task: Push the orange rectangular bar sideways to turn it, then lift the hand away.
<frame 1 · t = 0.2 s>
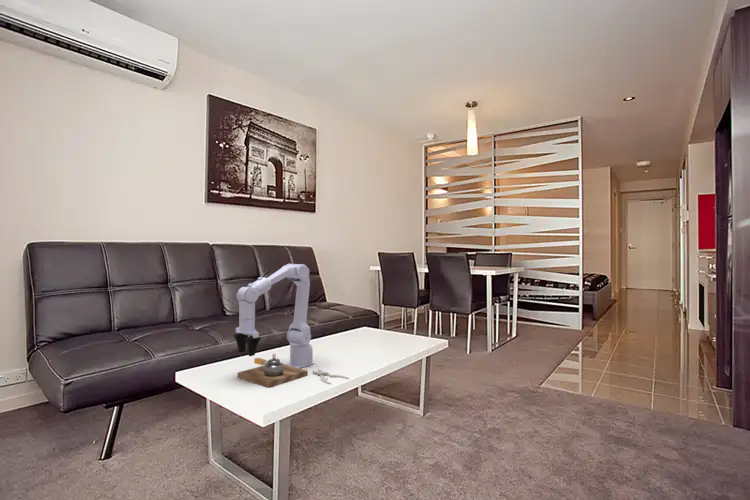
hand: (246, 353, 155), 10 cm above the table, tool pointing down, fingers open, 7 cm apart
orange rectangular bar: (267, 362, 158), point 6 cm above the table, hinge at 0.0°
pliers: (327, 378, 160), on the table
bench block: (272, 376, 160), on the table
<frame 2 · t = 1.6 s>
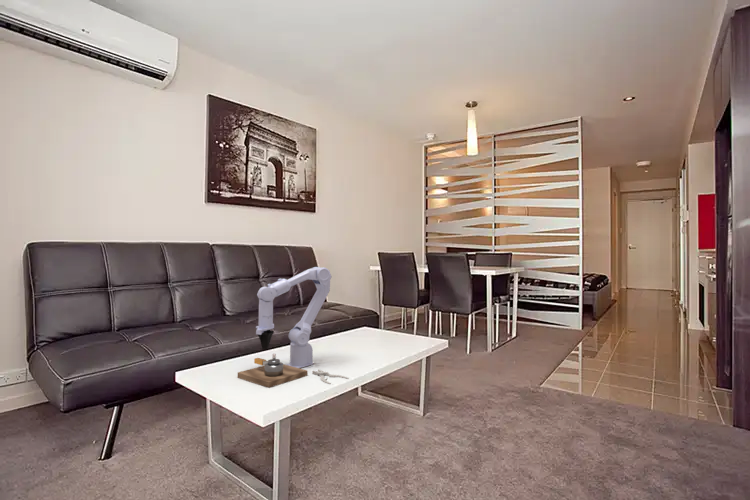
hand: (265, 348, 168), 9 cm above the table, tool pointing down, fingers closed
nothing on the table moved.
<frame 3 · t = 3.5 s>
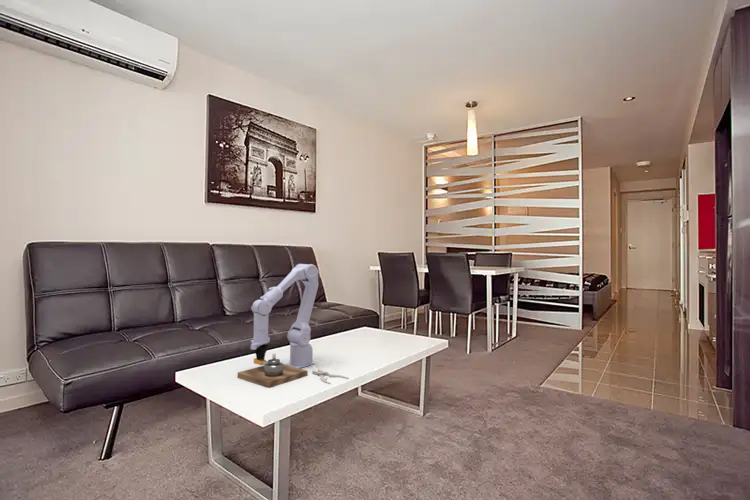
hand: (260, 363, 164), 4 cm above the table, tool pointing down, fingers closed, pressing on orange rectangular bar
orange rectangular bar: (267, 362, 158), point 6 cm above the table, hinge at 1.9°, touching gripper
everything else where it was.
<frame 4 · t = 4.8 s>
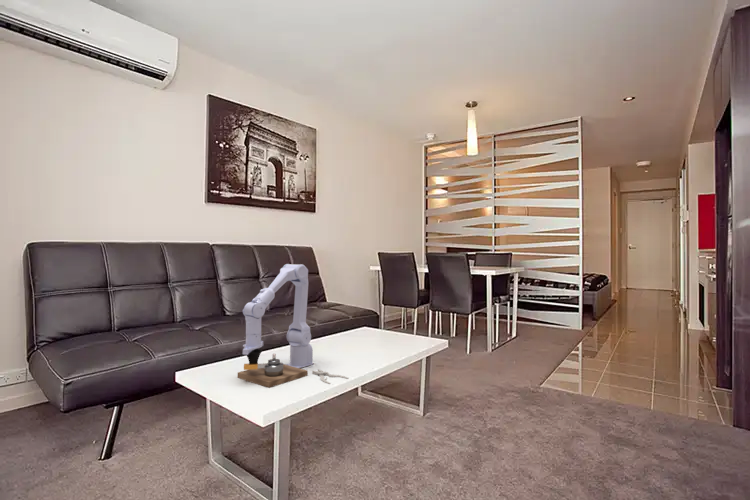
hand: (253, 368, 156), 4 cm above the table, tool pointing down, fingers closed, pressing on orange rectangular bar
orange rectangular bar: (263, 364, 155), point 6 cm above the table, hinge at 50.5°, touching gripper
everything else where it was.
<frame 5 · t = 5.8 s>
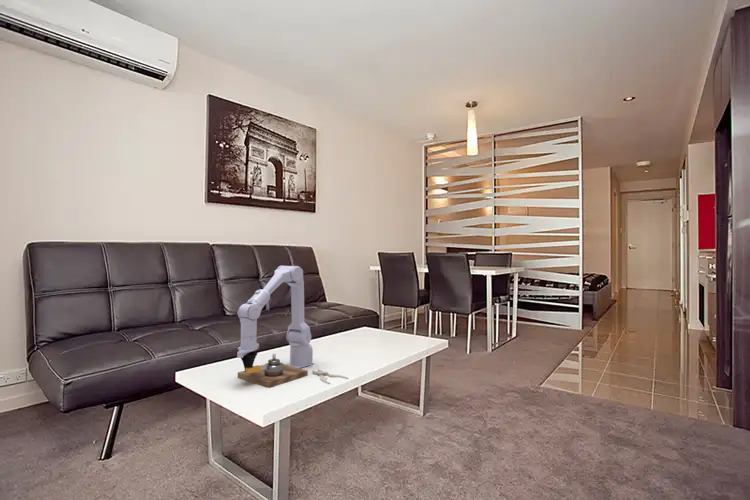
hand: (248, 372, 152), 4 cm above the table, tool pointing down, fingers closed
orange rectangular bar: (265, 365, 154), point 6 cm above the table, hinge at 79.3°, touching gripper
everything else where it was.
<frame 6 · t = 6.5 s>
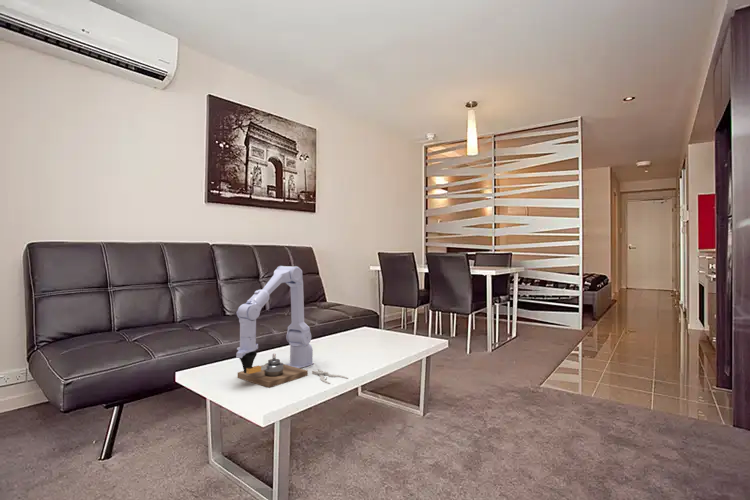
hand: (247, 372, 151), 4 cm above the table, tool pointing down, fingers closed
orange rectangular bar: (265, 365, 154), point 6 cm above the table, hinge at 83.1°, touching gripper
everything else where it was.
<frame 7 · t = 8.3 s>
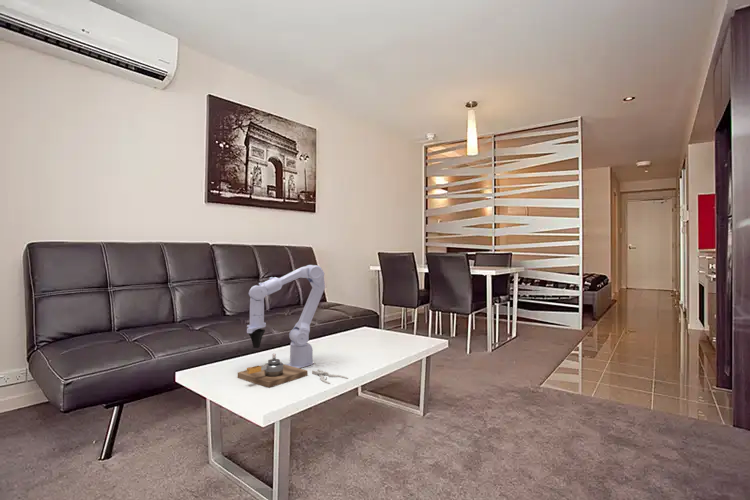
hand: (256, 347, 168), 9 cm above the table, tool pointing down, fingers closed
orange rectangular bar: (265, 365, 153), point 6 cm above the table, hinge at 83.6°
everything else where it was.
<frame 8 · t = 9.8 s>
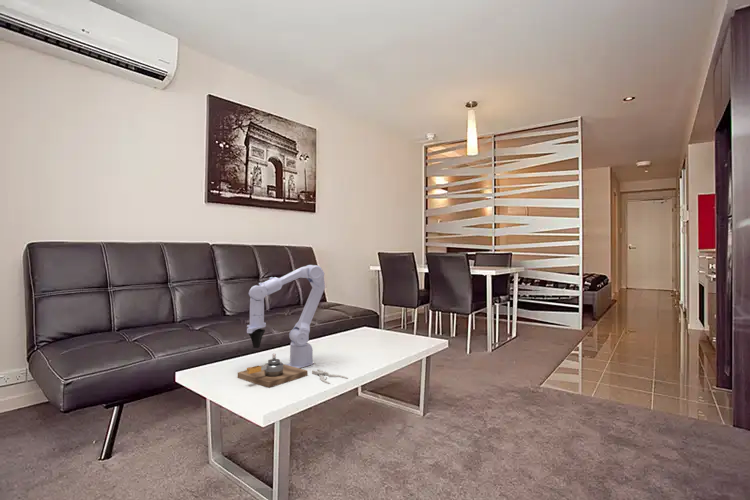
hand: (256, 347, 168), 9 cm above the table, tool pointing down, fingers closed
nothing on the table moved.
at the end: orange rectangular bar at +84° (first picture: +0°); pliers moved 0.8 cm from its start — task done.
